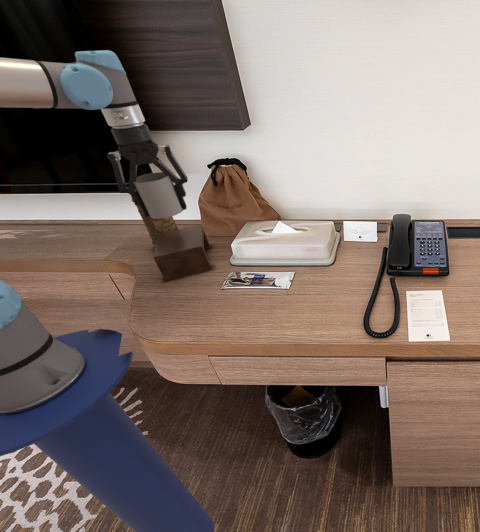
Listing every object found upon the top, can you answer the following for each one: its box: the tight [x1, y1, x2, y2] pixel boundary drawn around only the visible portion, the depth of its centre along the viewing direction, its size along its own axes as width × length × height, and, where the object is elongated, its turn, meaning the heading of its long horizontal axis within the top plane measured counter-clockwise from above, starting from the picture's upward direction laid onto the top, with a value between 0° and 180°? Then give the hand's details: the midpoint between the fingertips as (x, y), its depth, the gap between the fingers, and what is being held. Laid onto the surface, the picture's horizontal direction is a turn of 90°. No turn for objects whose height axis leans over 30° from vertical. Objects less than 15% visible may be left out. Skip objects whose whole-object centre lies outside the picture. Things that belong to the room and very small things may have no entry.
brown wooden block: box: [152, 224, 212, 282], centre depth 103 cm, size 12×16×8 cm
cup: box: [133, 171, 184, 219], centre depth 93 cm, size 8×8×10 cm
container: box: [131, 198, 179, 250], centre depth 109 cm, size 9×9×18 cm
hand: (166, 211), depth 96 cm, fingers closed on cup, 8 cm apart
